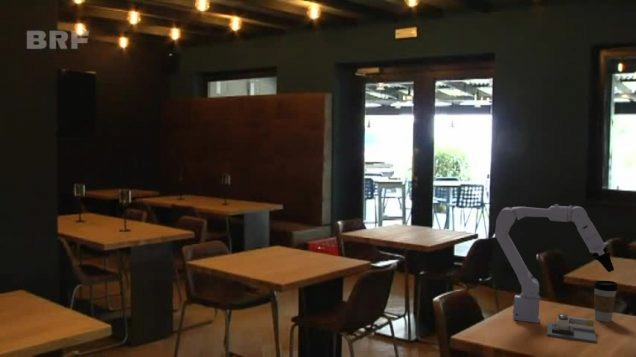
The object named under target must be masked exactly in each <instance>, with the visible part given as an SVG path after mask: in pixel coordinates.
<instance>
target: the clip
mask: <svg viewBox="0 0 636 357" xmlns="http://www.w3.org/2000/svg"><path fill="white" fill-rule="evenodd" d="M558 316H566V317H568V319H569V324H571V325H578V326H585V327H593V328H595V327H594V326H595V318H594V319H593V318H584V317H577V316H576V317H575V316H568V314H564V313H558V314H557V317H558Z"/></svg>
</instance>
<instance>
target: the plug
mask: <svg viewBox="0 0 636 357" xmlns="http://www.w3.org/2000/svg"><path fill="white" fill-rule="evenodd" d="M556 323H557V326H555V329H561V330H568V331H570V328H569V324H570V323H569V319H568V317H566V316H558V315H557V318H556Z"/></svg>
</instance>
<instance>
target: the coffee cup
mask: <svg viewBox="0 0 636 357" xmlns="http://www.w3.org/2000/svg"><path fill="white" fill-rule="evenodd" d="M617 283H618V282H616V281H613V280H595V281H594V284H593V288H594V292H593V300H594V304H593V305H594V306H593V307H594V320H596V321H599V322H603V323H604V322H605V323H609V322H612V319H613V312H614V308H615V302H616V297H617V295H616V294H617V291H618V284H617Z"/></svg>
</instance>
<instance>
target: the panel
mask: <svg viewBox="0 0 636 357" xmlns="http://www.w3.org/2000/svg"><path fill="white" fill-rule="evenodd" d="M555 326H557V321H549V320H548V321H547V331H546V332H547V333H546V335H547V337H552V338H558V339H564V338H565V340H571V341H572V340H573V341H579V342H585V343H593V344H597V342H598V341H597V336H596V331H595V327H592V326H586V325H578V324H571V323H569V328H570V331H568V330H561V329H555Z"/></svg>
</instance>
